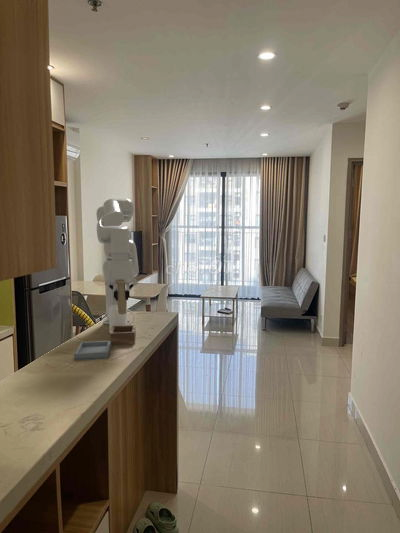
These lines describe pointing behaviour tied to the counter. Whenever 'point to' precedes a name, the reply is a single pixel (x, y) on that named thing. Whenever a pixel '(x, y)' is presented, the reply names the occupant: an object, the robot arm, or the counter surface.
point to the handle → (121, 296)
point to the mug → (118, 317)
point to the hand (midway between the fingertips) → (121, 299)
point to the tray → (93, 350)
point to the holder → (123, 335)
